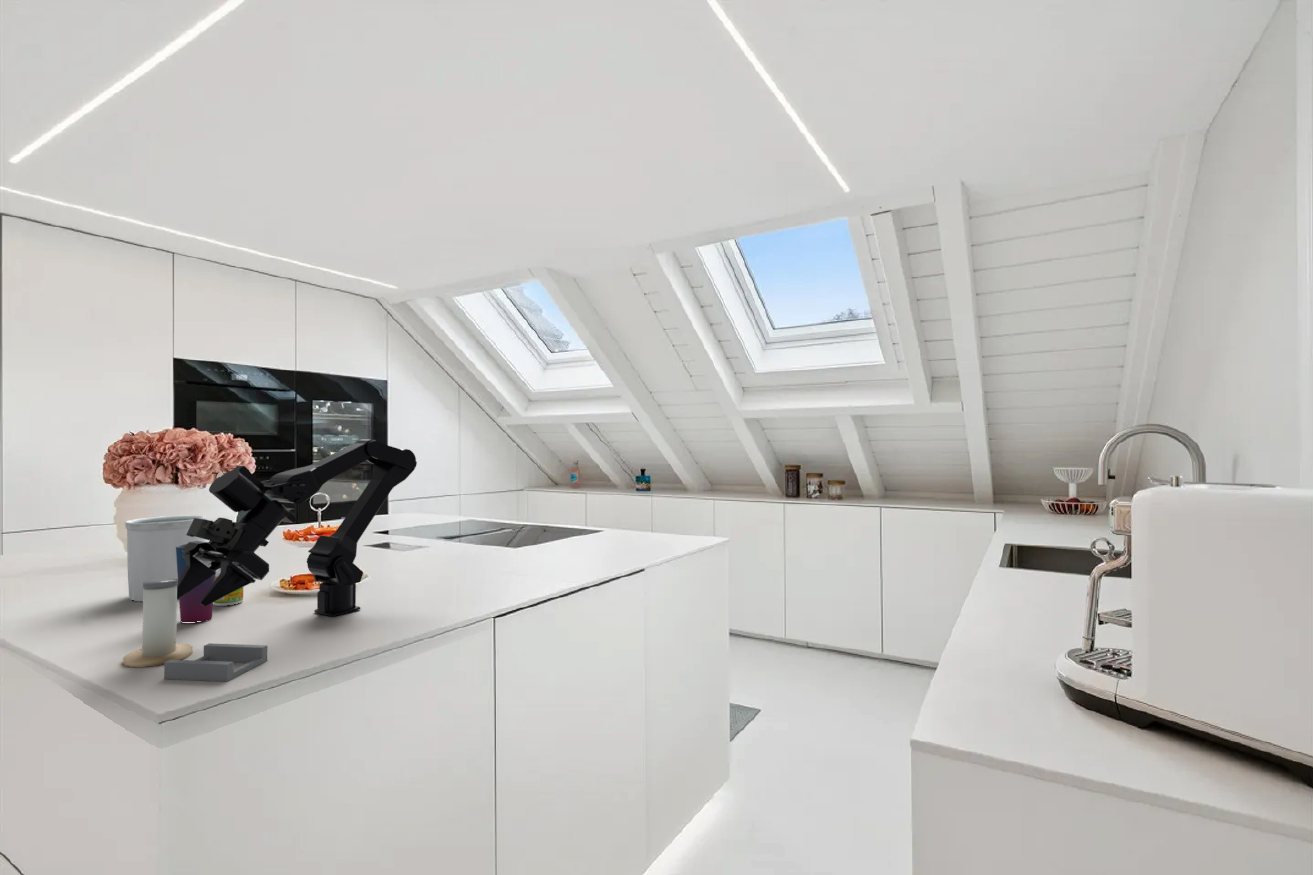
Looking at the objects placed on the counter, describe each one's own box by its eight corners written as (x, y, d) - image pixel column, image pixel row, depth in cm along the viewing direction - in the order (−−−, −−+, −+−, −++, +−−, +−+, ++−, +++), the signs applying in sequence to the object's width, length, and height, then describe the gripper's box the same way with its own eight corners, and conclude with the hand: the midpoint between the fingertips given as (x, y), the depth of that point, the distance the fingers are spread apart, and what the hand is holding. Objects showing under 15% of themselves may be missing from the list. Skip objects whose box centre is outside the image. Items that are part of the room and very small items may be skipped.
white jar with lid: (176, 645, 107) (178, 576, 107) (176, 653, 104) (177, 582, 104) (142, 651, 104) (143, 580, 104) (140, 659, 101) (141, 585, 101)
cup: (225, 617, 127) (226, 543, 127) (190, 626, 121) (191, 548, 121) (201, 613, 129) (202, 541, 129) (166, 622, 123) (167, 546, 123)
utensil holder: (106, 600, 138) (107, 521, 138) (169, 585, 153) (170, 513, 153) (163, 604, 136) (164, 523, 136) (222, 588, 151) (222, 515, 151)
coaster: (176, 644, 110) (176, 640, 110) (203, 653, 106) (203, 649, 106) (112, 660, 102) (112, 655, 102) (139, 671, 98) (139, 666, 98)
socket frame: (209, 658, 104) (209, 643, 104) (267, 660, 103) (267, 645, 103) (164, 678, 95) (164, 662, 95) (227, 681, 94) (227, 664, 94)
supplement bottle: (228, 607, 134) (228, 561, 134) (207, 605, 135) (207, 560, 135) (249, 600, 140) (249, 557, 140) (228, 599, 141) (229, 556, 141)
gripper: (193, 497, 116) (121, 568, 107) (250, 503, 108) (177, 581, 98) (238, 533, 124) (175, 603, 114) (296, 541, 115) (231, 618, 105)
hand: (188, 600), depth 108 cm, fingers open, 9 cm apart
